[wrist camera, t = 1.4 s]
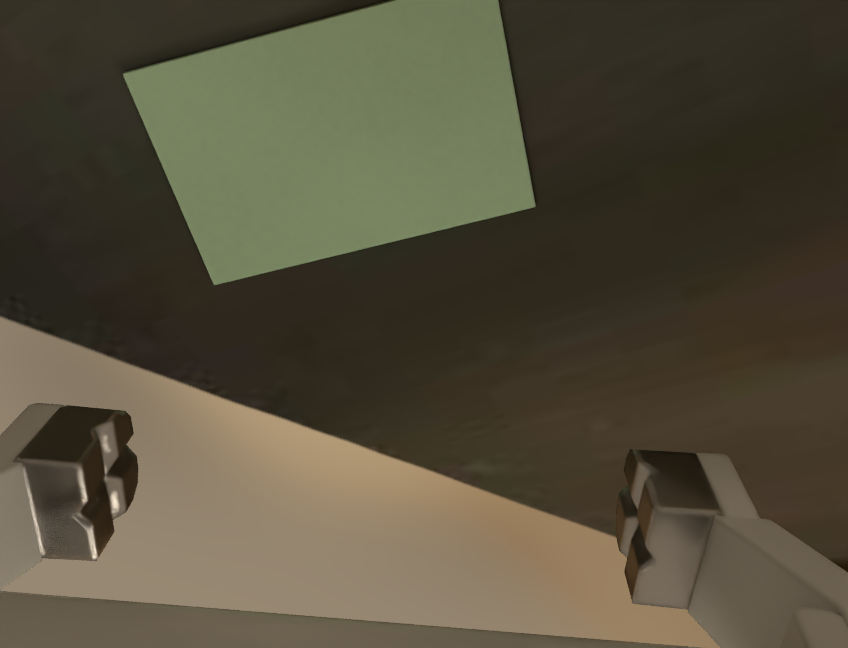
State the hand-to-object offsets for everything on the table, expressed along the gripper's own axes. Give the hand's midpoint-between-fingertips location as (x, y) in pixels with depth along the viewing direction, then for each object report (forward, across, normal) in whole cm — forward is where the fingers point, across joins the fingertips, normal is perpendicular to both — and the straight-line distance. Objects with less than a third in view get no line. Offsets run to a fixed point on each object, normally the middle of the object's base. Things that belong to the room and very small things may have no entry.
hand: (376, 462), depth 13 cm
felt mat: (+33, +6, +3) cm, 34 cm away
